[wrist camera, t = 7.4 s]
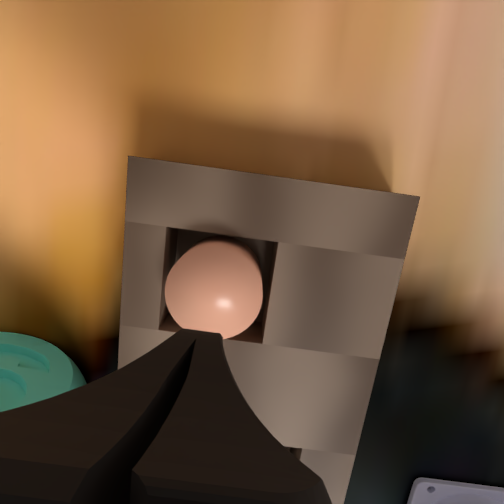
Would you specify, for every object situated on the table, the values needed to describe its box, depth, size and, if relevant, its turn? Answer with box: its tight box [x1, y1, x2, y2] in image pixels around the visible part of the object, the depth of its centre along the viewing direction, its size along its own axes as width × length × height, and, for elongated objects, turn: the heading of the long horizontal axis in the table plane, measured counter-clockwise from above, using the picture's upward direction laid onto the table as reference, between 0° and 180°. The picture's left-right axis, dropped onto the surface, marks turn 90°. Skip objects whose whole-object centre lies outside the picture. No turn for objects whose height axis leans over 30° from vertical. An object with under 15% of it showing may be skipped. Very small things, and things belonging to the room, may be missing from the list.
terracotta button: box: [165, 236, 263, 339], centre depth 16 cm, size 4×4×3 cm
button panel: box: [118, 156, 420, 504], centre depth 18 cm, size 13×21×3 cm, turn 172°
